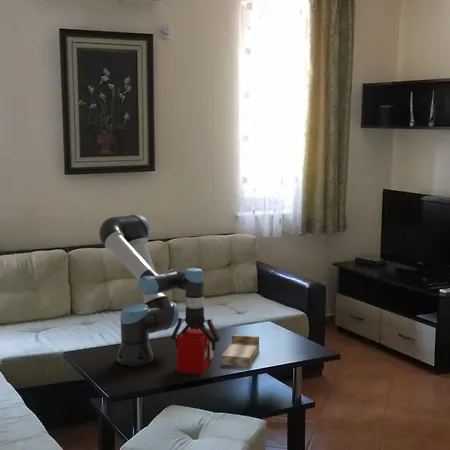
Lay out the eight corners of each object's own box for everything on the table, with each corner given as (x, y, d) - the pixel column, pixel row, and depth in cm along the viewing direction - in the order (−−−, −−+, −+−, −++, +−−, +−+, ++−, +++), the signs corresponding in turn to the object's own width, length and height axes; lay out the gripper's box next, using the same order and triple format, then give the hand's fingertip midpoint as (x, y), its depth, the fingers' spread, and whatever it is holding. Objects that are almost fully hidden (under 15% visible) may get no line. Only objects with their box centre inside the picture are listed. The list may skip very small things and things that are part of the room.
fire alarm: (203, 374, 275) (203, 338, 273) (177, 373, 278) (177, 337, 276) (212, 361, 291) (212, 327, 289) (187, 359, 293) (187, 325, 291)
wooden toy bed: (221, 364, 287) (221, 348, 286) (232, 349, 306) (232, 334, 305) (250, 367, 284) (250, 350, 283) (259, 351, 303) (259, 336, 302)
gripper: (162, 307, 280) (163, 357, 283) (222, 310, 274) (222, 361, 277) (168, 302, 287) (169, 352, 290) (226, 305, 282) (227, 355, 284)
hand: (195, 356), depth 284 cm, fingers open, 13 cm apart
